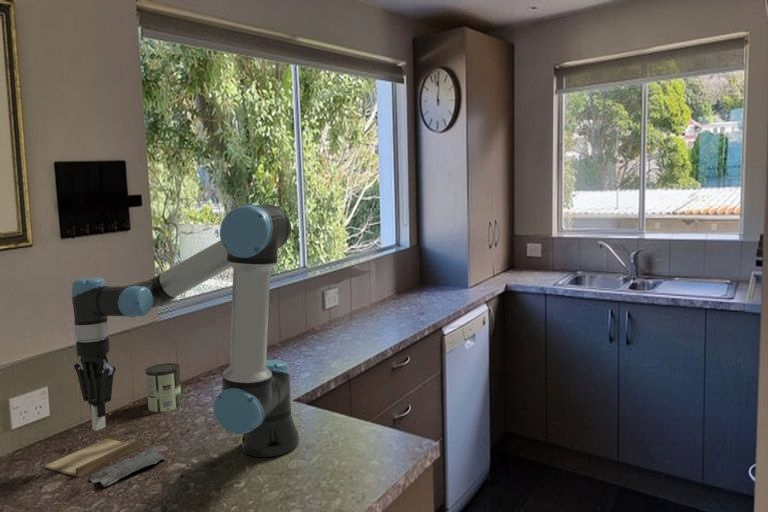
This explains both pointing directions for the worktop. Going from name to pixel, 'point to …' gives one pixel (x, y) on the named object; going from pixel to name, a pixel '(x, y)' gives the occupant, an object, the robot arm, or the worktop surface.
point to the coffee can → (163, 387)
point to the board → (92, 457)
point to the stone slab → (126, 467)
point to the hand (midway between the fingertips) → (99, 428)
